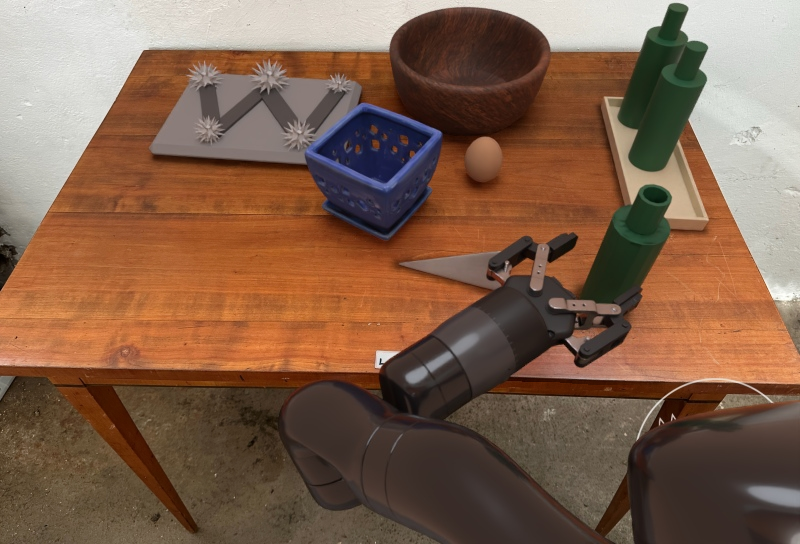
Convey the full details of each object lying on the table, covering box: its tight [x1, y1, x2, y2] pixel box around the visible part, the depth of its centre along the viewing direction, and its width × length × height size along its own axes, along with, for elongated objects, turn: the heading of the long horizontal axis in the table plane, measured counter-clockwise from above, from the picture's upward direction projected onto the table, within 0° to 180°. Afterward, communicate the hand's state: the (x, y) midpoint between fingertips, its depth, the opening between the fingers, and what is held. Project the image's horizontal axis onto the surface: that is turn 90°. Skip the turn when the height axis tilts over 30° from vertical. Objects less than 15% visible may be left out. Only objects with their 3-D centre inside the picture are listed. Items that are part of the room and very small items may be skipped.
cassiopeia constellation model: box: [148, 59, 363, 166], centre depth 86 cm, size 30×22×7 cm
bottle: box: [578, 184, 672, 304], centre depth 59 cm, size 6×6×18 cm
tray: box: [600, 96, 710, 231], centre depth 81 cm, size 28×10×2 cm, turn 175°
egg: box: [463, 136, 504, 183], centre depth 77 cm, size 5×5×7 cm
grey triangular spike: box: [398, 250, 502, 291], centre depth 68 cm, size 6×5×13 cm
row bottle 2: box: [628, 40, 709, 172], centre depth 74 cm, size 6×6×18 cm
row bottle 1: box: [617, 2, 689, 130], centre depth 80 cm, size 6×6×18 cm
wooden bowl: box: [388, 6, 552, 137], centre depth 88 cm, size 25×25×10 cm
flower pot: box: [305, 102, 444, 242], centre depth 71 cm, size 13×13×12 cm
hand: (604, 264), depth 56 cm, fingers open, 8 cm apart
